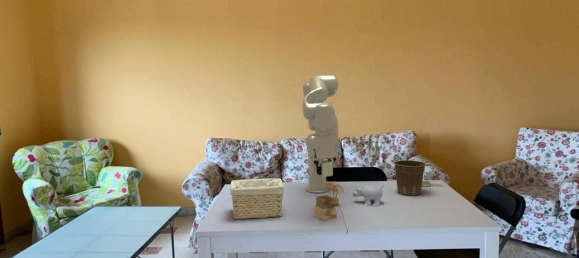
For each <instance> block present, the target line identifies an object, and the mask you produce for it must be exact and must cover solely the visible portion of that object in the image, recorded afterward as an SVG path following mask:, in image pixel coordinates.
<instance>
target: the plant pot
mask: <svg viewBox="0 0 579 258" xmlns="http://www.w3.org/2000/svg"><path fill="white" fill-rule="evenodd" d="M393 165H394V170H395V178H396V191H397V194H399V195H400V194H401V195H406V196H411V197H413V196H420V195H421V194H422V187H423V180H424V173H425V169H426V166H427V163H426V162H424V161H419V160H411V159H410V160H409V159H407V160H405V159H402V160H395V161H394V162H393Z"/></svg>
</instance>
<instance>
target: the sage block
mask: <svg viewBox="0 0 579 258" xmlns="http://www.w3.org/2000/svg"><path fill="white" fill-rule="evenodd" d="M321 166H322V175H319V176H322V177H326V178H327V177H332V176H333V175H334V172H333V171H334V164H333V162H331V161H328V159H326V160H324V161H321ZM317 175H318V174H317Z"/></svg>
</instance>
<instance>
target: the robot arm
mask: <svg viewBox="0 0 579 258" xmlns="http://www.w3.org/2000/svg"><path fill="white" fill-rule="evenodd" d="M338 90H339V80H338V77H336V75H334V74H317V75H313V76H311V78H309V81H307V82H304V83H303V85H302V93H303V97H304V98H303V100H302V114H303V117H304V119H306V120H308V128H309V130H311V131H314V132H315V133H310V134H309V135H307V136H306V138H305V139H306V142H305V143H306V148H307V149H306V150H307V157H308V158H307V160H308V161H307V162H308V186H306V187H305V191H306V192H308V193H312V194H313V193H314V194H323V193H327V192H328V191H329V190H330V188H329V189H328V190H327V188H328V187H329V186H331V185H333V184H334V181H328V180H327V177H322V176H319V175H322V166H321V161H324V160H327V161H331V162H333V165H334V164H335V162H336V161H337V159H338V157H339V156H340V154H339V153H338V151H337V149H338V148H339V121H338V120H339V119H338V117H337V115H336V109H335V106H334V105H333V104H332V102H331V103H330V102H326V100H327V99H328V98H331V97H332V98H333V97H334V96H335V95H336V94H337V91H338ZM317 174H318V175H317Z"/></svg>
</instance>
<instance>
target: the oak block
mask: <svg viewBox="0 0 579 258" xmlns="http://www.w3.org/2000/svg"><path fill="white" fill-rule="evenodd" d="M337 213H338V212H337V206H335V207H333V208H327V209H322V208H320V207H318V206H316V204H315V205H314V217H316V218H318V219H319V220H321V221H327V220H332V219H336V218H337Z"/></svg>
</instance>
